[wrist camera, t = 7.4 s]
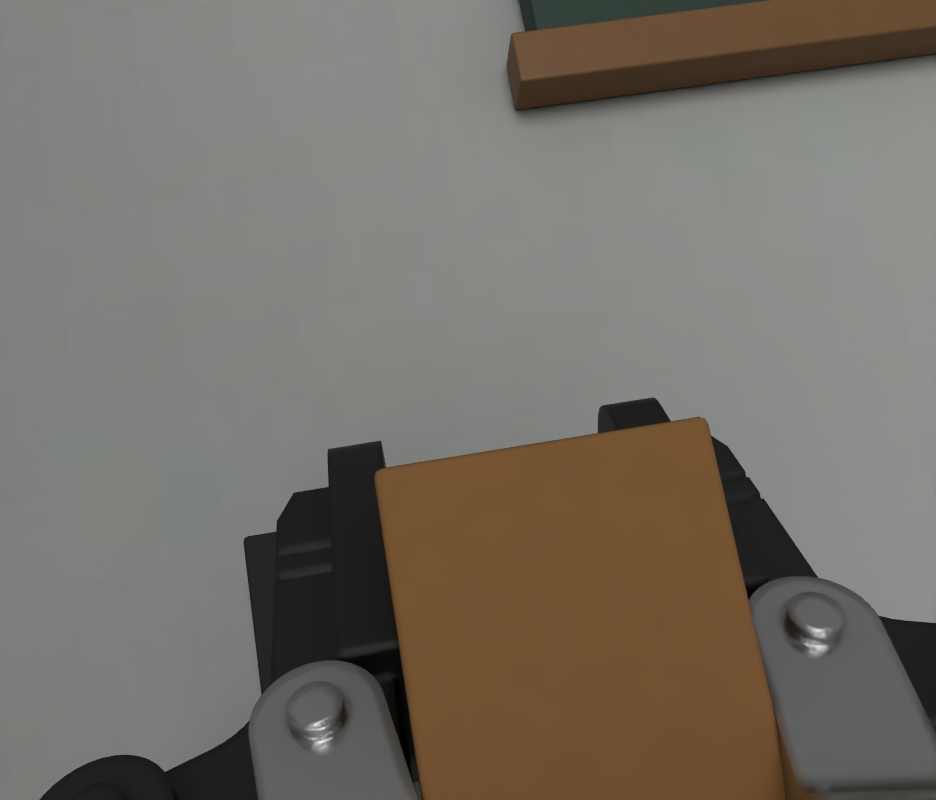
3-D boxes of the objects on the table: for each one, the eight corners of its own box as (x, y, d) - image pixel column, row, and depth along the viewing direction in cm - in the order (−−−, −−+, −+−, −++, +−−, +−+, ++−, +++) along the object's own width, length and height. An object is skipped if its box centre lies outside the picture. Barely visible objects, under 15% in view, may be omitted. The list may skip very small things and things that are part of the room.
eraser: (296, 763, 16) (114, 1021, 7) (268, 543, 17) (71, 493, 7) (719, 684, 16) (1103, 814, 7) (674, 475, 17) (967, 350, 8)
